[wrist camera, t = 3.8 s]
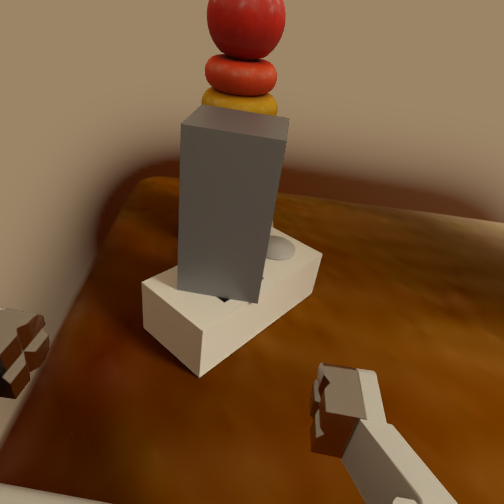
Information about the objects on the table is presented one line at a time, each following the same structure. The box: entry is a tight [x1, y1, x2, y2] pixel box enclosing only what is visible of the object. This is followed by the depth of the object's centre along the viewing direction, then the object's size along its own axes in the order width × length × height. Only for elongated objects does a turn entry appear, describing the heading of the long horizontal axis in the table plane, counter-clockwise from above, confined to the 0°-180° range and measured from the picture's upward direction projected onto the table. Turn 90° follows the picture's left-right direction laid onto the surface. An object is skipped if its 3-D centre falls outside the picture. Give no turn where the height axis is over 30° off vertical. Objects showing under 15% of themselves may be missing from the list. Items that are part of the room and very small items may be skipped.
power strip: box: [142, 227, 322, 378], centre depth 24 cm, size 11×5×4 cm, turn 138°
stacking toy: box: [202, 0, 285, 227], centre depth 29 cm, size 8×8×19 cm
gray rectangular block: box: [177, 104, 289, 304], centre depth 21 cm, size 4×4×11 cm
